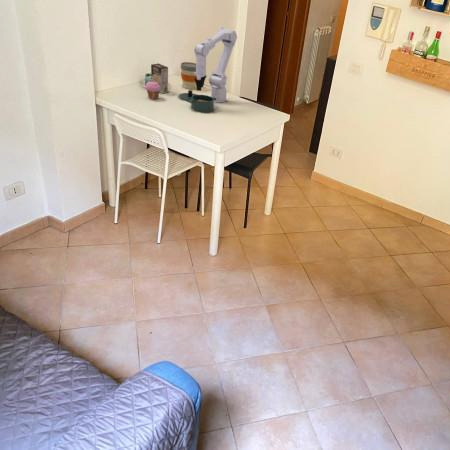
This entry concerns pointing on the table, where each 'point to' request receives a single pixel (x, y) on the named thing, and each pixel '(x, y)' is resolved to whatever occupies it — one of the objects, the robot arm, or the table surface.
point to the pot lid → (186, 95)
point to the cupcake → (153, 89)
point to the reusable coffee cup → (188, 75)
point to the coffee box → (160, 76)
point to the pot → (202, 103)
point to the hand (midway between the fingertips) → (200, 88)
